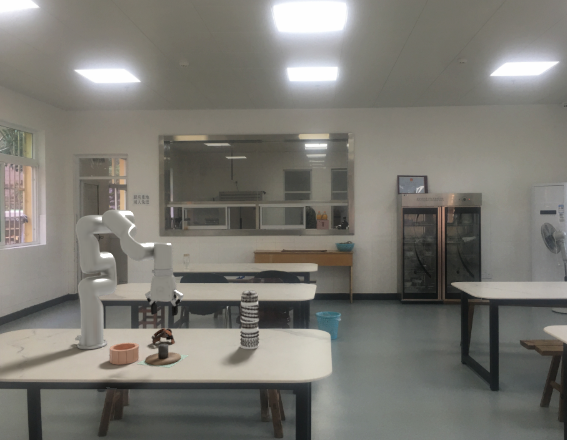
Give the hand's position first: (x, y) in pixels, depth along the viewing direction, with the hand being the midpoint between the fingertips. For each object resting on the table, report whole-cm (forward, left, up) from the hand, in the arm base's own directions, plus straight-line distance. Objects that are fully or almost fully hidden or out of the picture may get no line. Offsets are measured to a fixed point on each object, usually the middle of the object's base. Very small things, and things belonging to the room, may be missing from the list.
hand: (164, 314), depth 177 cm
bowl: (-15, -5, -19) cm, 25 cm away
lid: (0, 0, -19) cm, 19 cm away
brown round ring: (-13, +21, -19) cm, 31 cm away
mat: (0, 0, -19) cm, 19 cm away
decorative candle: (+27, +28, -19) cm, 43 cm away
